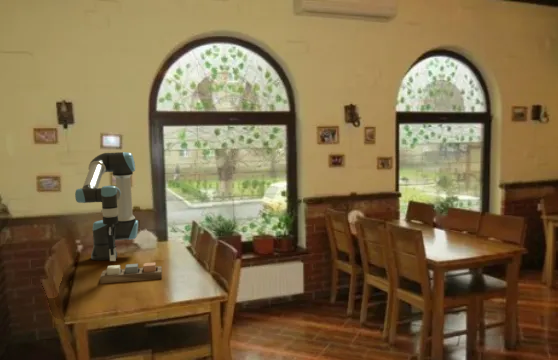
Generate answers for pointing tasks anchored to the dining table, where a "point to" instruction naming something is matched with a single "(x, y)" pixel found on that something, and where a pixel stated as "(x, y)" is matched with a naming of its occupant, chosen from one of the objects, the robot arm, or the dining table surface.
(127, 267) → the slate key
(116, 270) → the ivory key
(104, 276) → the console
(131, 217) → the robot arm
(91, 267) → the dining table surface
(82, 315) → the dining table surface
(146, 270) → the terracotta key
